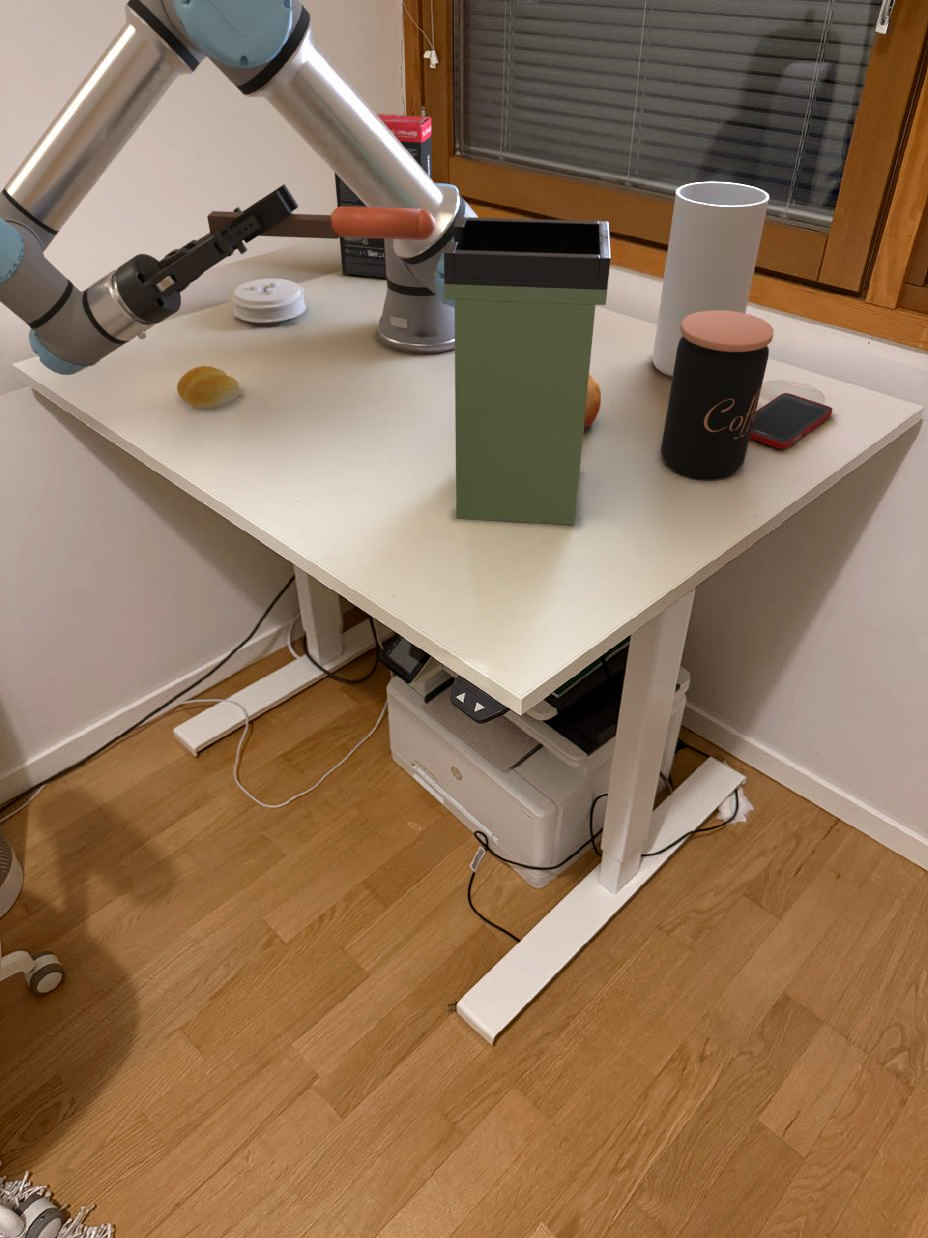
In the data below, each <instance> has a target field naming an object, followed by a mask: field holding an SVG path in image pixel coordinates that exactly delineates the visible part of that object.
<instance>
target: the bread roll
mask: <svg viewBox="0 0 928 1238" xmlns="http://www.w3.org/2000/svg"><path fill="white" fill-rule="evenodd" d="M176 391H177V393H178V396H179V397H180V398H181V399H182V401H184V402H186V403H188V404H189V406H190V407H192V408H193V409H197V410H211V409H212V410H213V409H218V408H223V407H225V406H228V405H229V404H231V403H233V402H234V401H235V400H236V399H237V398H238V396H239V394H240V385H239V383H238V380H236V379H235V378H234V377H232V376H230V375H228V374H227V373H226V372H224V371H223V370H222V369H220V368H217V367H215V366H208V365H207V366H206V365H202V366H196V367H193V368H192V369H189V370H188V371H187V372H186V373H184V374H183V375H182V376H181V377H180V378H179V380H178V382H177V385H176Z"/></svg>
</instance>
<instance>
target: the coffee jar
mask: <svg viewBox="0 0 928 1238" xmlns="http://www.w3.org/2000/svg"><path fill="white" fill-rule="evenodd" d="M774 331H775V330H774V328H773V327H772V325H771V324H770V323H769V322H767V321H766V320H764V319H762V318H760V317H759V316H758V317H757V316H755V315H752V314H749V313H746V312H745V313H741V312H735V311H725V310H710V311H702V312H697V313H694V314H691V315H688V316H687V317H686V318H684V319H683V321H682V324H681V333H682V335H683V336H682V337H681V338H680V340H679V343H678V346H677V352H676V358H675V365H674V371H673V377H671V383H670V390H669V395H668V402H667V409H666V415H665V421H664V428H663V433H662V439H661V444H660V445H661V447H660V453H661V456H662V459H663V462H665V465H666V466H667V467H668V468H669V469H670V470H671V471H672V472H674V473H676V474H678V475H680V476H683V477H685V478H688V479H692V480H697V481H698V480H699V481H719V480H723V479H726V478H728V477H731V476H733V475H734V474H735V473H736V472H738V470H740V469H741V467H742V466H743V465H744V463H745V460H746V455H747V451H748V447H749V442H750V439H751V438H750V434H751V430H752V426H753V421H754V417H755V413H756V411H757V409H758V403H759V400H760V395H761V391H762V387H763V382H764V379H765V374H766V369H767V365H768V361H769V355H770V350H769V349H770V348H769V346H768V345H770V343H772V341H773V338H774V333H775V332H774Z"/></svg>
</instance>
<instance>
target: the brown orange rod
mask: <svg viewBox="0 0 928 1238" xmlns="http://www.w3.org/2000/svg"><path fill="white" fill-rule="evenodd" d="M243 213H244V212H234V211H223V210H221V211H220V210H219V211H218V210H212V211H211V212H210V213H209V214H207V216H206V218H207V223H208V229H209V233H210V234H215V233H217V232H218V231H220V230H222V229H223V228H224V226H225V225H229V224H231V226H232V227H233V228H234V227H235V226H234V225H233V223H232V222H231V221H232V220H233V219H235V218H237V217H238V216H240V215H241V214H243ZM434 230H435V219H434V217H433V215H432V214H431V213H430V212H429V211H427V210H425V209H412V208H382V207H353V206H341V207H338V208H337V207H335V208H334V210H333V211H332V212H331V213H330V214H311V213H309V214H308V213H307V214H305V213H292V214H291V215H290V216H289V217H287V218H285V219H284V220H282V221H281V222H279V223H278V224H276V225H274V226H273V227H271V228H270V229H268V230H267V231H265V232H263V233H262V234H260V235H259V236H258V237H274V238H275V237H277V238H279V237H281V238H302V239H304V238H305V239H306V238H307V239H330V240H333V239H334V240H339V239H340V236H341V237H353V238H380V239H407V240H425V239H427V238H429V237H430V236H431V235H432V234H433V232H434Z"/></svg>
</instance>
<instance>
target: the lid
mask: <svg viewBox="0 0 928 1238" xmlns="http://www.w3.org/2000/svg"><path fill="white" fill-rule="evenodd" d="M304 297H305V289H304V288H303V287H302V286H300V285H299V284H298V283H296V282H294V281H292V280H289V279H283V278H260V279H255V280H250V281H246V282H244V283H241V284H240V285H238V286H237V287H236V288H235V289H234V290H233V291H232V292H231V293H230V295H229V298H230V301H231V303H232V305H233V308H232V314H233V315H234V317H236V319H239V320H242V321H245V322H250V323H261V324H265V323H267V324H268V323H276V322H283V321H287V320H290V319H291V320H292V319H294V318H296V317H299V316H300V315H302V314H303V313H304V312H305V311H306V309H307V305H306V304H307V303H306V302H305V298H304Z"/></svg>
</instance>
